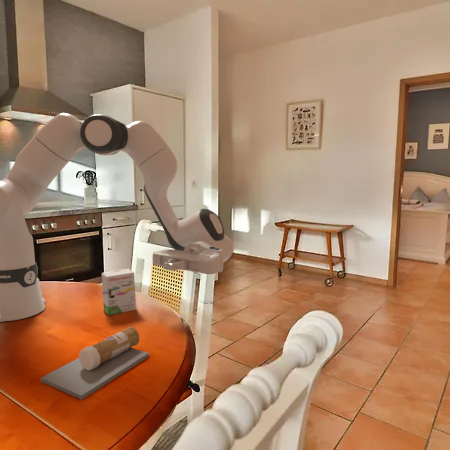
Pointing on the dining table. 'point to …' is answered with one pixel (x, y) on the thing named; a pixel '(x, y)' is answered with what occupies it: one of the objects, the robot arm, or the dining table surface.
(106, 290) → the ink box
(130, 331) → the sprinkles bottle
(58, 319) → the dining table surface
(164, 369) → the dining table surface
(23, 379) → the dining table surface
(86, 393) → the cutting board
